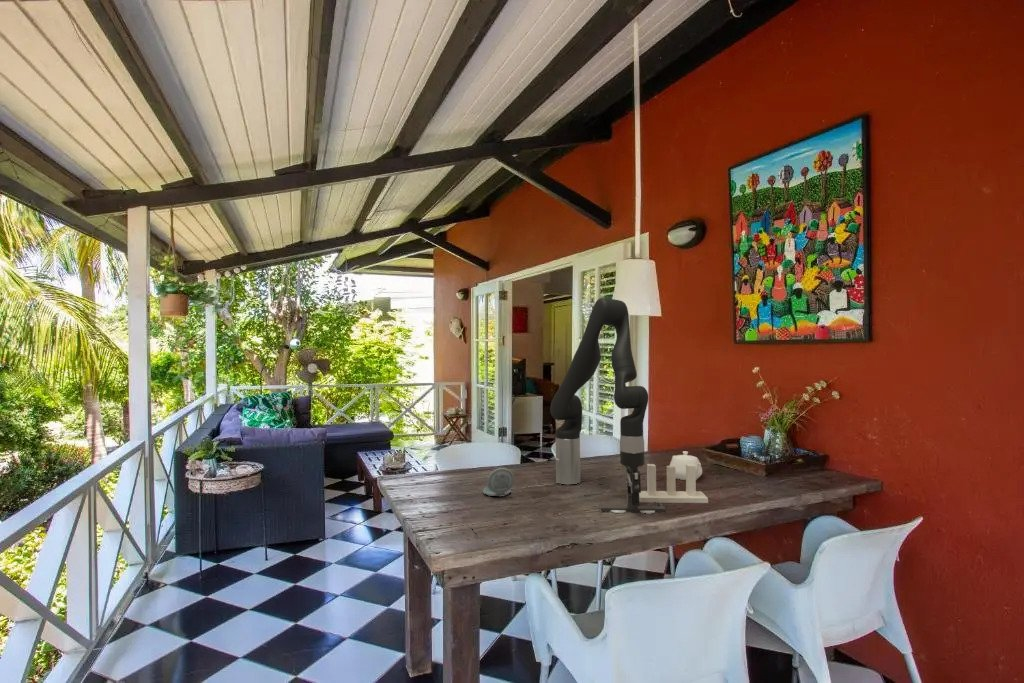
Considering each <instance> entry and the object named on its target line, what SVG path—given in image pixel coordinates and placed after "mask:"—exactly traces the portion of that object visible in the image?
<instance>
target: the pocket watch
mask: <svg viewBox="0 0 1024 683" xmlns="http://www.w3.org/2000/svg"><path fill="white" fill-rule="evenodd" d="M487 476H488V477H487V478H486V487H484V488H483V490H482V494H483V495H485V494H487V495H492V496H500V495H506V494H508V495H510V494H511V493H510V492H512V488H513V486H514V484H515V475H514V473H513V472H512V471H511V470H510V469H509V468H506V467H499V468H496V469H494V470H492V471H491V472H490V473H489V475H487ZM509 493H510V494H509Z"/></svg>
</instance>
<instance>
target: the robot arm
mask: <svg viewBox="0 0 1024 683" xmlns="http://www.w3.org/2000/svg"><path fill="white" fill-rule="evenodd" d="M604 326H608V327H609V326H610V327H614V330H615V334H616V339H615V343H614V346H613V348H612V352H611V356H610V358H611V360H610V361H611V366H612V371H613V374H614V391H613V401H614V404H615V406H617V408H619V409H620V410H621V409H622V410H627V409H629V410H630V409H633V410H632V412H631V413H630V414H628V415H623V416H622V417H621V418H620V439H619V454H620V455H619V459H620V462H619V463H620V464H621V466H625V479H624V480H625V483H626V487H627V490H626V492H627V493H632V505H638V506H640V501H639V493H641V491H642V486H641V476H642V475H641V472H640V471H639V469H638V468H639V467H643V466H644V465H645V464H646V463H645V462H646V461H645V460H646V457H645V453H646V452H645V438H644V420H645V415H646V411H647V407H648V403H649V393H648V390H647V389H646V388H645V387H644V386H643V385H630V386H629V385H628V386H627V385H626V384H627V383H629V382H633V381H634V380H635V379H636V378H637V370H636V364H635V361H634V356H633V351H632V344H631V330H630V329H631V328H630V317H629V310H628V306H627V304H626V303H625V302H624V301H622V300H619V299H614V298H609V297H600V298H597V300H596V301H595V303H594V304H593V306H592V309H591V311H590V315H589V318H588V321H587V324H586V327H585V329H584V333H583V336H582V338H581V340H580V343H579V345H578V347H577V348H576V351H575V354H574V355H573V357H572V360H571V363H570V365H569V367H568V370H567V372H566V374H565V376H564V378H563V380H562V382H561V383H560V386H559V387H558V389H557V391H556V392H555V394H554V396H553V397H552V399H551V402H550V409H549V410H550V415H551V416H552V418H553V419H554V420H556V421H563V423H562V425H560V426H559V427H558V428H556V429H555V431H554V432H555V484H556V483H561V484H577V483H579V484H581V432H582V426H583V422H582V421H583V405H582V400H581V398H580V397H579V396H578V395H576V393H577V392H578V391H579V390H580V389H581V388H582V387H583V386H585V384H587V382H589V381H590V379H592V377H593V376H594V375H595V372H596V371H597V368H598V366H599V364H600V362H601V358H602V357H601V355H602V353H601V348H600V343H599V338H600V333H601V331H602V328H603V327H604ZM561 484H560V485H561ZM577 485H578V484H577ZM635 487H637V488H635ZM627 493H626V494H627Z"/></svg>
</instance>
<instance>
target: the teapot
mask: <svg viewBox="0 0 1024 683" xmlns="http://www.w3.org/2000/svg"><path fill="white" fill-rule="evenodd" d="M688 453H689V451H686V450H685V451H682V454H677V455H672V456H671V461H670V462H669V463H670V464H669V466H675V476H676V480H679V479H680V481H686V464H693V465H695V473H696V480H698V479H699V478H700V477H701V475H702V474H703V468H702V465H701V462H700V460H699V458H698V457H697V456H693V455H690V454H688Z"/></svg>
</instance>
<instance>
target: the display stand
mask: <svg viewBox="0 0 1024 683" xmlns="http://www.w3.org/2000/svg"><path fill="white" fill-rule="evenodd" d="M676 480H677V479H676V476H675V466H670V465H666V491H665V490H657V465H655V463H647V464H646V484H647V486H646V489H647V490H641V493H639V503H654V502H656V503H657V504H658V502H661V504H662V503H664V504H665V503H669V504H671V503H672V504H674V503H675V504H676V503H677V504H678V503H679V504H682V503H683V504H685V503H686V504H709V498H708V497H707V496H706V495H705V494H704V493H703V492H702V491H701V490H699V491H697V489H696V483H697V479H696V473H695V465H693V464H686V480H685V484H686V485H685V491H684V490H683V491H681V490H679V491H677V490H676V484H677V483H676Z"/></svg>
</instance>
